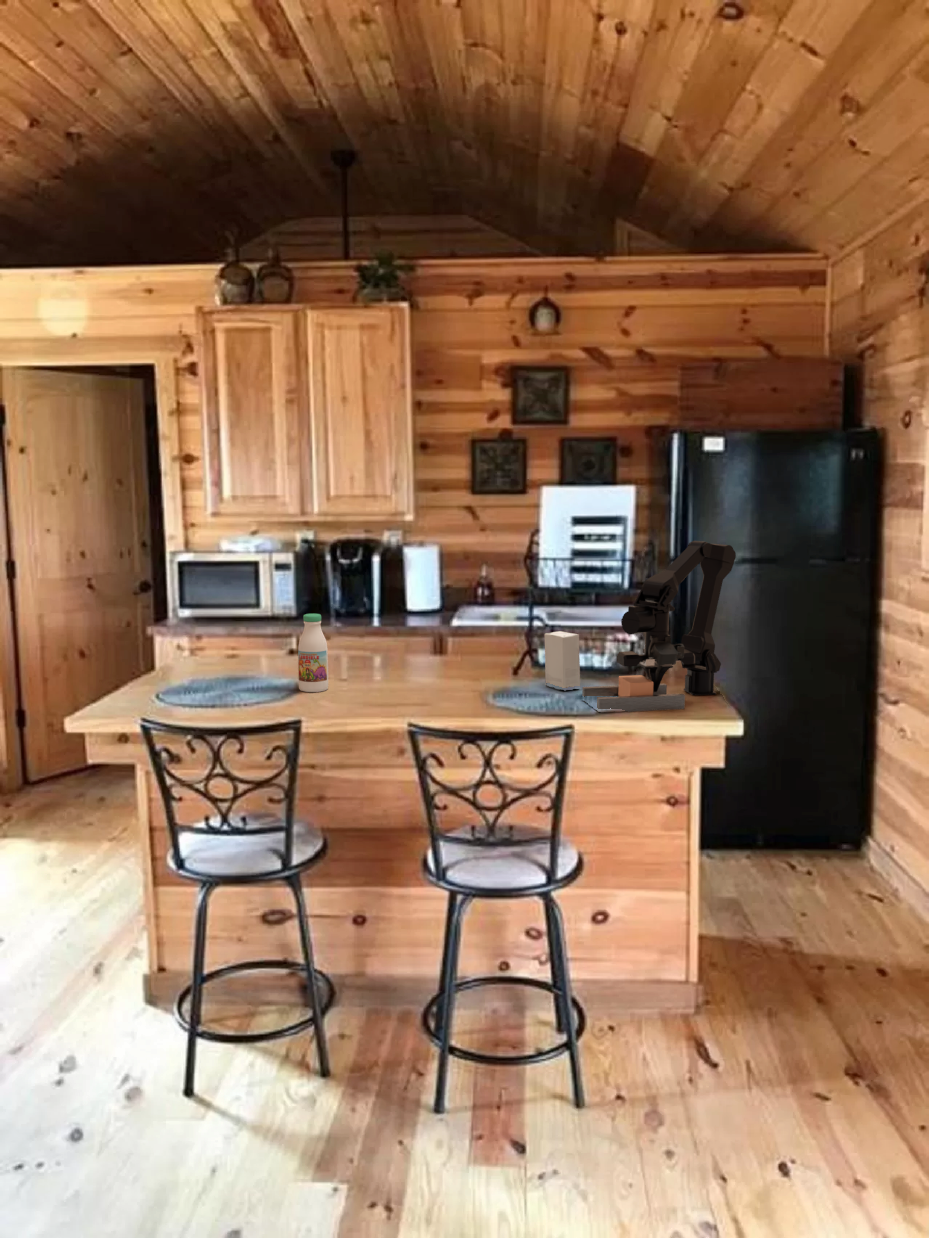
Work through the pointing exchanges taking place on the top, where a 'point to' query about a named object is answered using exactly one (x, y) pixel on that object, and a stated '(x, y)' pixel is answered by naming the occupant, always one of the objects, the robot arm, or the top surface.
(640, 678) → the block
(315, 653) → the milk bottle
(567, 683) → the skincare box
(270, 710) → the top surface
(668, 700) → the chute
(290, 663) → the top surface
